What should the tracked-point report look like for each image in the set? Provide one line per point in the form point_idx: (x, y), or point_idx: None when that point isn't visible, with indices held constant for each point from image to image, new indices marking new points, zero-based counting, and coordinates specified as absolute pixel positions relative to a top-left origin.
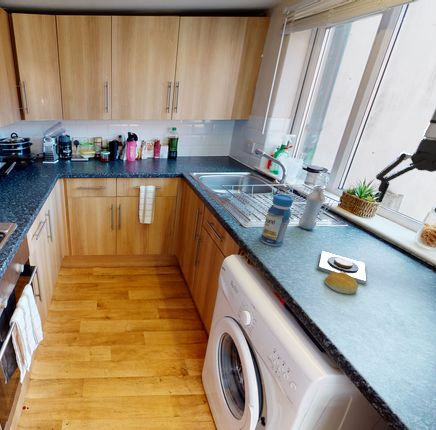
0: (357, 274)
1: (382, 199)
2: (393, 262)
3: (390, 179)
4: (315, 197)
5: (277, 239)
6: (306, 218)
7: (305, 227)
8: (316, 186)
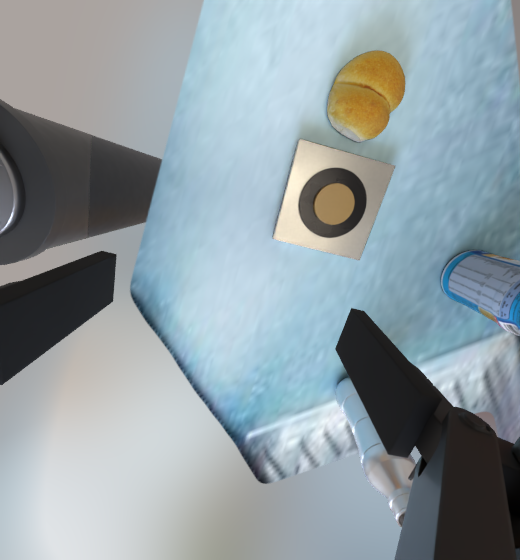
0: (309, 166)
1: (359, 317)
2: (198, 290)
3: (458, 438)
4: (405, 462)
5: (479, 256)
6: None
7: None
8: None
